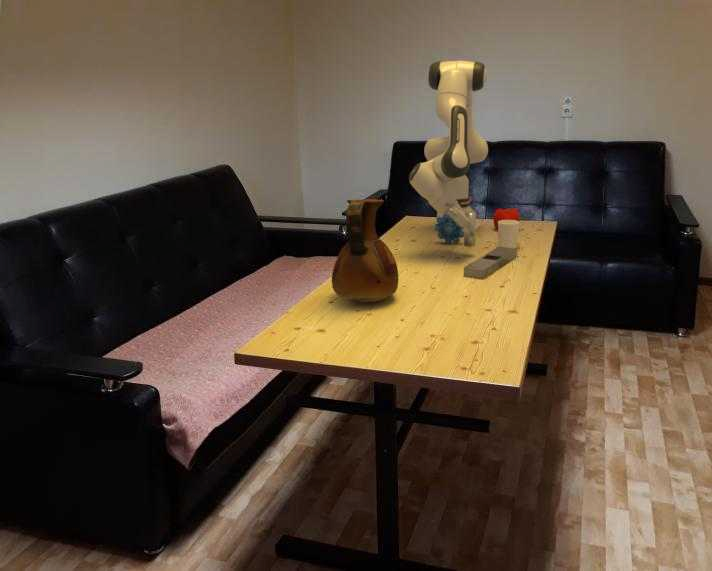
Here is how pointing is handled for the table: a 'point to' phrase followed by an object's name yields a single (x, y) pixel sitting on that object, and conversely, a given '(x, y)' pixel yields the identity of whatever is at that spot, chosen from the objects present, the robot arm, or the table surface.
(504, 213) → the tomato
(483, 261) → the grey slab
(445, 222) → the grapes
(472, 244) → the pin
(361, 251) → the ceramic pitcher
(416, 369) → the table surface
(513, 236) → the white cup
